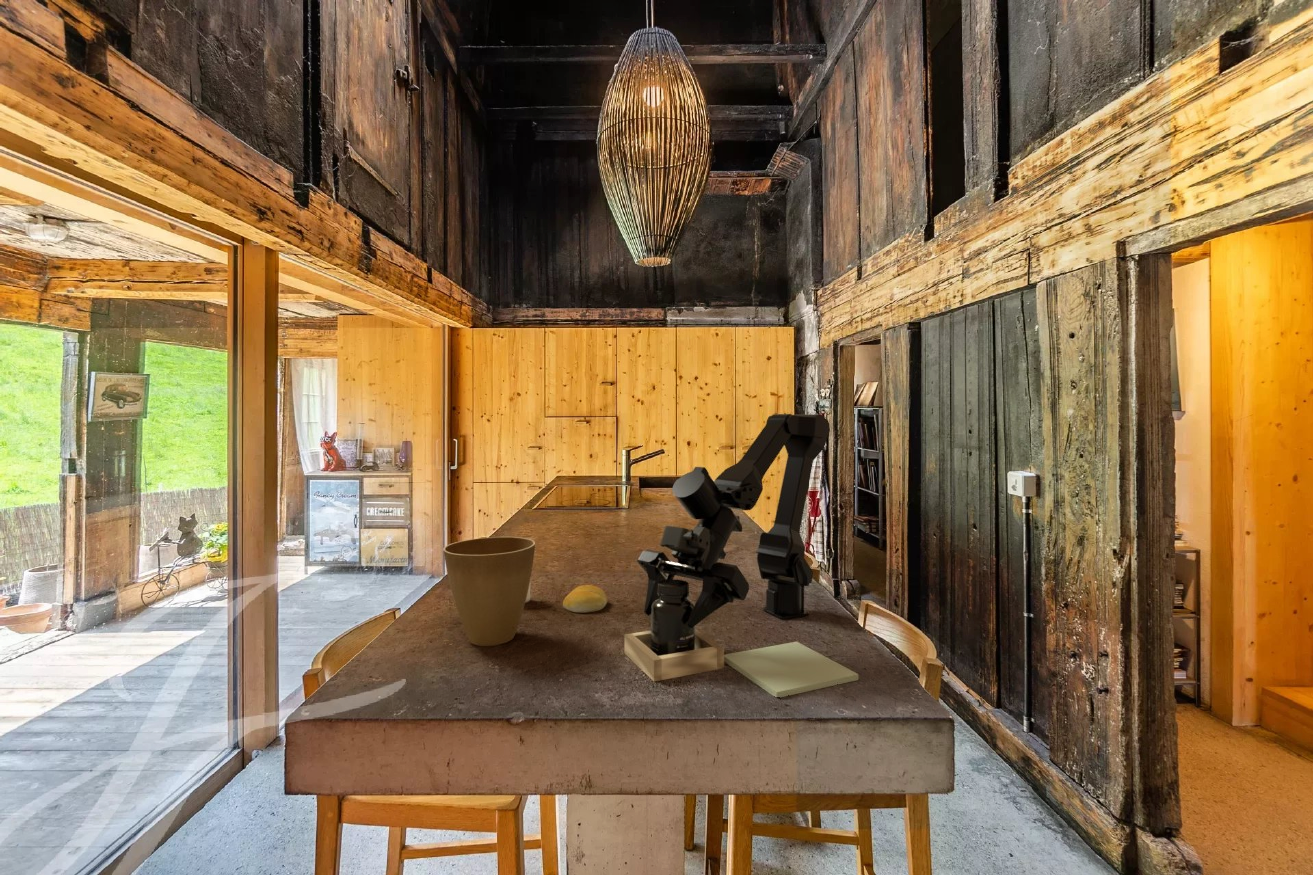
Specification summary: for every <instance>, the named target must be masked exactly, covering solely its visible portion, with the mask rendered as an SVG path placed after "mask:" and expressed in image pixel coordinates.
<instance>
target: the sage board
mask: <svg viewBox="0 0 1313 875" xmlns="http://www.w3.org/2000/svg"><path fill="white" fill-rule="evenodd" d="M724 663H725V664H727V665H729V666H730V667H732V668H733V669H735V671H737V672H739V674H742V675H743V676H744V677H745V678H747V679H748V680H750V681H751V682H753V683H754V684H755V685H756V686H758V687H760V688H761V689H763V690H764V691H766V692H767V693H769V695H771V696H773V697H774V696H775V697H780V698H784V697H788V695H789V696H793V695H797V694H802V693H806V692H812V691H815V690H819V689H824V688H828V687H832V686H833V687H834V686H838V685H841V684H845V683H846V684H847V683H850V682H855V681H858V680H859V673H857V672H855V671H853V670H851V669H849V668H847V667H845V666H844V665H843V664H840V663H838V662H836V661H834V660H832V659H830V658H828V657H826V656H825V655H823V654H821V653H820V652H817V651H815V650H813V649H811V648H809V647H808V646H806V645H804V644H802V643H800V642H798V641H793V642H786V643H781V644H777V645H770V646H765V647H759V648H754V649H750V650H743V651H738V652H737V651H736V652H732V653H726V654H725V653H724ZM837 684H838V685H837ZM775 697H774V698H775Z"/></svg>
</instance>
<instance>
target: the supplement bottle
mask: <svg viewBox="0 0 1313 875" xmlns="http://www.w3.org/2000/svg"><path fill="white" fill-rule="evenodd" d="M657 595H658V596H659V598H657V599H656V600H655V601H654V602H653V603H652V605H651V614H650V631H651V643H650V649H651V650H652V651H653V652H654V653H655V654H656V655H658V656H661V655H667V654H673V653H679V652H685V651H690V650H695V629H696V625H695V626H694V627H693V628H690V627H689V626H688V625H687V622H688V620H689V617H690V614H691V612H692V610H693V608H694V606H695V603H694V602H693V600H691V599H690V598H688V597H690V583H689V582H688V581H686V580H684V579H683V580H682V579H675V578H673V579H669V580H662V581H659V582H658V591H657Z"/></svg>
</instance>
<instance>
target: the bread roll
mask: <svg viewBox="0 0 1313 875" xmlns="http://www.w3.org/2000/svg"><path fill="white" fill-rule="evenodd" d="M607 603H608V597H607V594H606V593H605V592H604V590H602V589H601V588H599V587H598V586H596V585H591V584H582V585H578V586H577V587H575V588H574V589H573V590H572V591H570V593H569V594H568V595H567V596H565V598H564V599H563V602H562V607H563V608H564V609H565V610H567V611H568V612H569V611H570V612H571V613H572V612H573V613H577V614H582V613H593V612H598V611H601V610H603V609H604V608H605V606H606V605H607Z"/></svg>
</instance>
